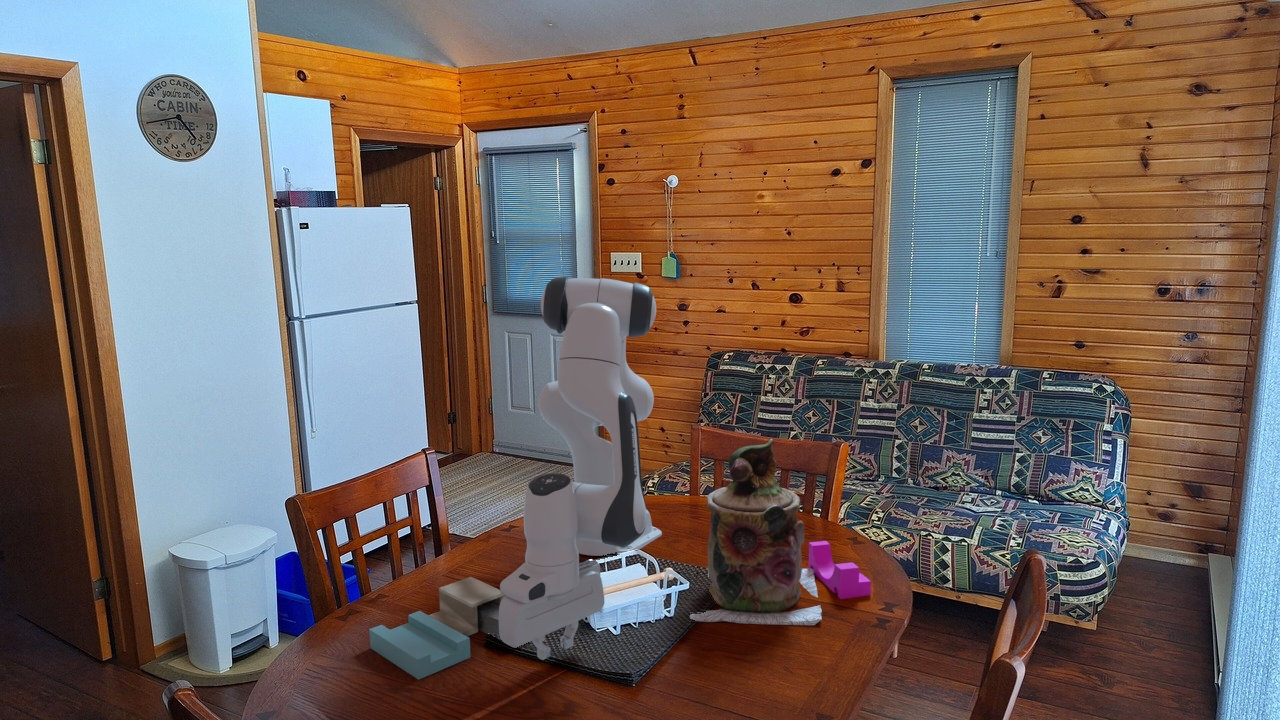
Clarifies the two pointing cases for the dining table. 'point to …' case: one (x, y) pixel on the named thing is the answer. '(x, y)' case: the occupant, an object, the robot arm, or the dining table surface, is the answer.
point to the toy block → (837, 572)
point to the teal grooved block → (420, 645)
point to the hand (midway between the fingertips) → (555, 652)
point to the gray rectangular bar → (488, 617)
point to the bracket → (464, 604)
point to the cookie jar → (756, 546)
